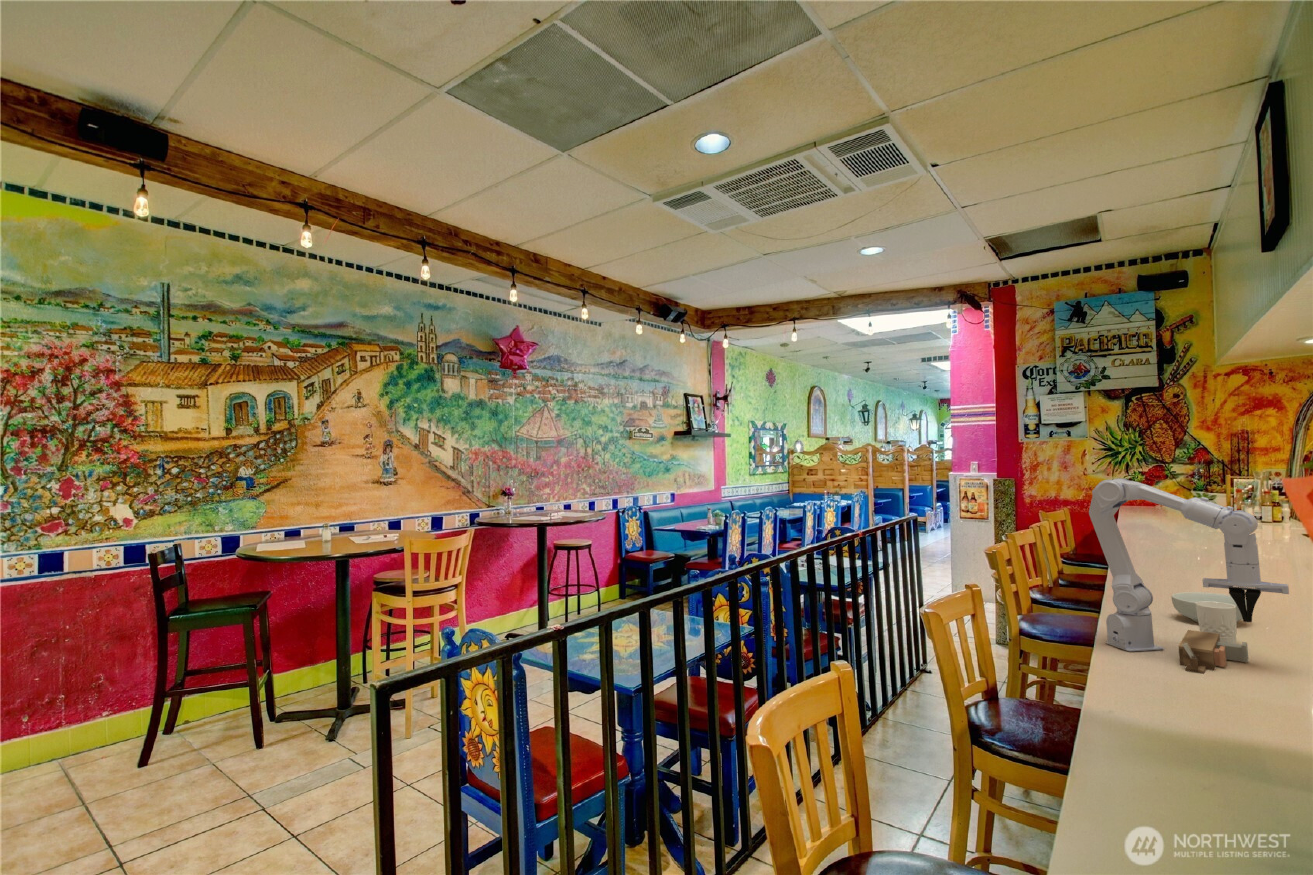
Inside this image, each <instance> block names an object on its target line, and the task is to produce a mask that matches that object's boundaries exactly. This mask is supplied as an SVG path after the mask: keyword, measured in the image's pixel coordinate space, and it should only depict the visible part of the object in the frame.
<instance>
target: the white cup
mask: <svg viewBox="0 0 1313 875" xmlns="http://www.w3.org/2000/svg"><path fill="white" fill-rule="evenodd" d="M1195 604H1196V610H1197V617H1198V622H1197V623H1198V627H1199V631H1202V632H1210V633H1218V634H1220V642H1226V643H1234V644H1237V631H1238V630H1237V628H1238V627H1237V624H1238V623H1237V621H1236V606H1235V605H1232V604H1228V603H1221V602H1209V601H1203V602H1196V603H1195Z"/></svg>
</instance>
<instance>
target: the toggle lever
mask: <svg viewBox="0 0 1313 875" xmlns="http://www.w3.org/2000/svg"><path fill="white" fill-rule="evenodd" d="M1182 645H1183V647H1184V648H1185V650H1186V652H1187V653H1188V655H1189V656H1190V658H1194V659H1197V662H1198V660H1199V659H1198V658H1197V657H1196V656H1195V654H1194V653H1193V651H1192V650H1191V648H1190V647H1189V645H1188V643H1183V644H1182Z"/></svg>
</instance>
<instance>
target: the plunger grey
mask: <svg viewBox="0 0 1313 875" xmlns="http://www.w3.org/2000/svg"><path fill="white" fill-rule="evenodd" d="M1220 646H1225V652H1226V660H1230V661H1236V662H1243V663H1246V664H1247V663H1248V662H1249V648H1248V641H1242V643H1236V644H1234V643H1226V642H1218V641H1217V648H1218V649H1219V648H1220Z"/></svg>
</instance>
